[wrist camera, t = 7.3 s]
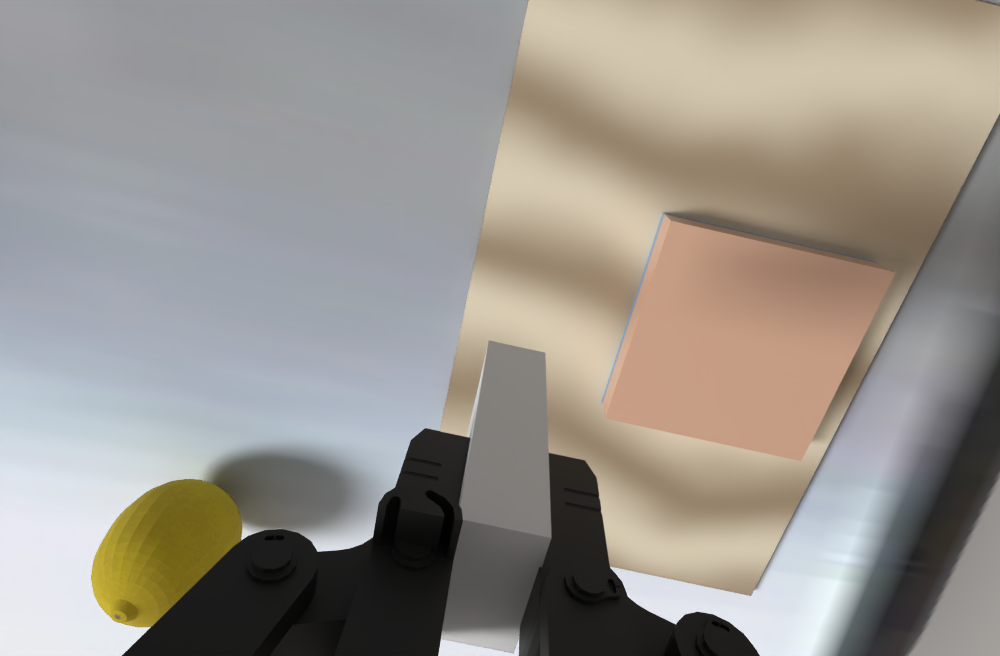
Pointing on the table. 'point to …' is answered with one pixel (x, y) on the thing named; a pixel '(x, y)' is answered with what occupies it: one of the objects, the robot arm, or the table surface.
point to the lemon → (163, 549)
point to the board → (710, 217)
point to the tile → (740, 336)
